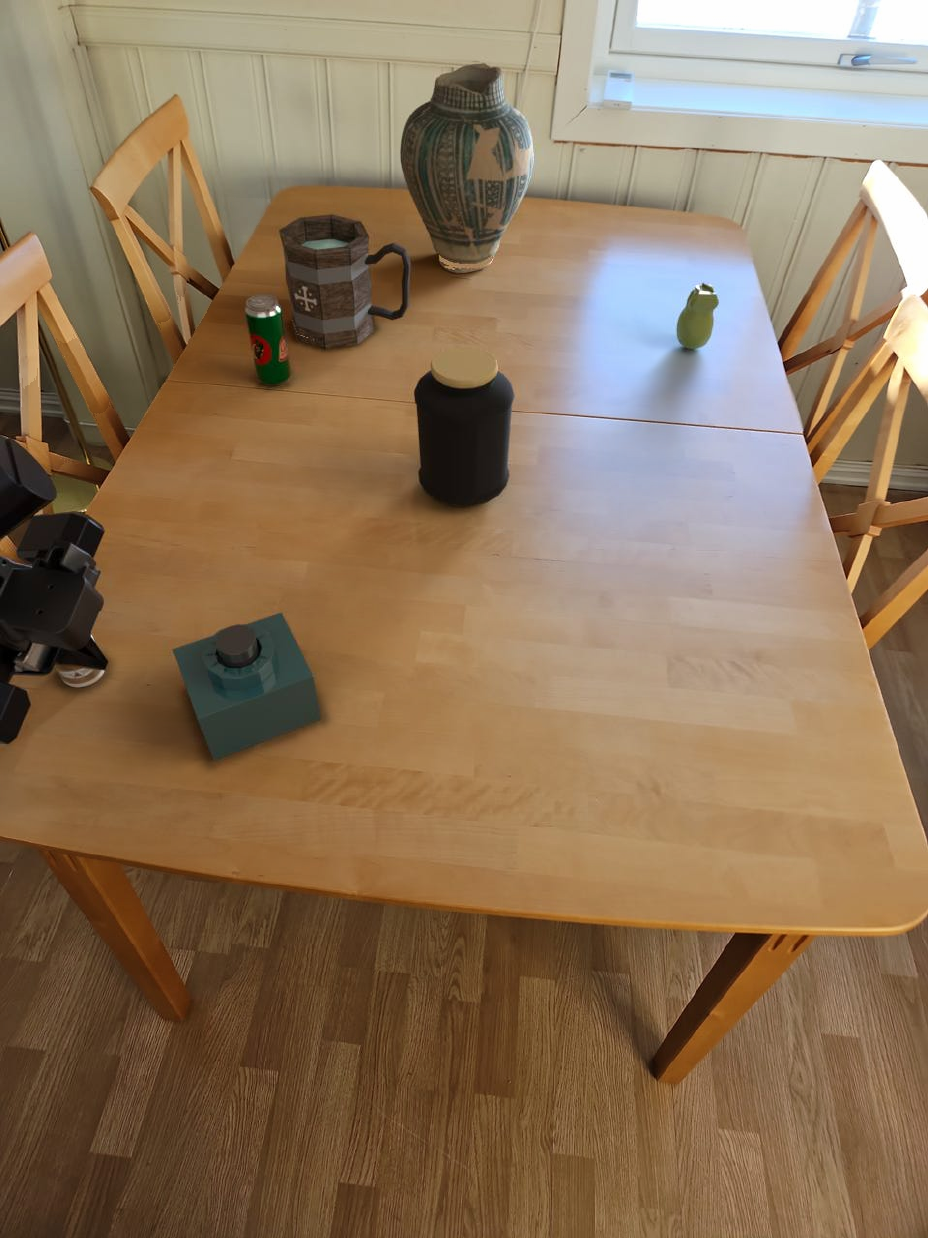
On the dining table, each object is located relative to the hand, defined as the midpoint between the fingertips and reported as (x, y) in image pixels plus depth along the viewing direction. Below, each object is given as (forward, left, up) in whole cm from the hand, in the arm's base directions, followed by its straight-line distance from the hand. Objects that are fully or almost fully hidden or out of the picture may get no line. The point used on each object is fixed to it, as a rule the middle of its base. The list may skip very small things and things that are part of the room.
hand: (103, 666), depth 70 cm
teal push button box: (+10, -5, -13) cm, 17 cm away
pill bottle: (+2, +12, -13) cm, 18 cm away
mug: (+71, +38, -13) cm, 82 cm away
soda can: (+53, +37, -13) cm, 66 cm away
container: (+51, 0, -13) cm, 53 cm away
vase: (+102, +39, -13) cm, 110 cm away
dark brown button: (+10, -5, -4) cm, 12 cm away
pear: (+102, -7, -13) cm, 103 cm away
